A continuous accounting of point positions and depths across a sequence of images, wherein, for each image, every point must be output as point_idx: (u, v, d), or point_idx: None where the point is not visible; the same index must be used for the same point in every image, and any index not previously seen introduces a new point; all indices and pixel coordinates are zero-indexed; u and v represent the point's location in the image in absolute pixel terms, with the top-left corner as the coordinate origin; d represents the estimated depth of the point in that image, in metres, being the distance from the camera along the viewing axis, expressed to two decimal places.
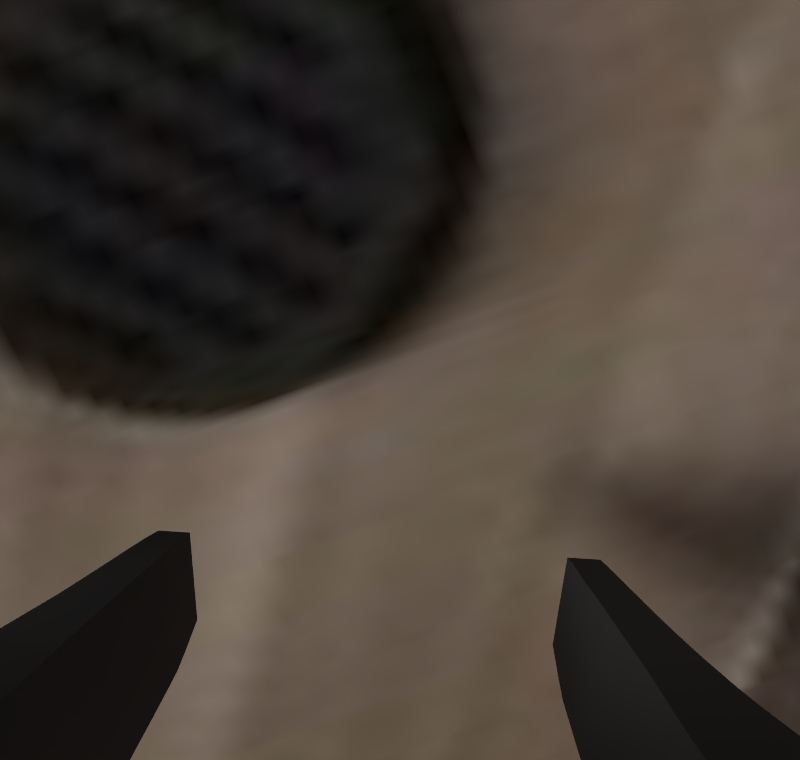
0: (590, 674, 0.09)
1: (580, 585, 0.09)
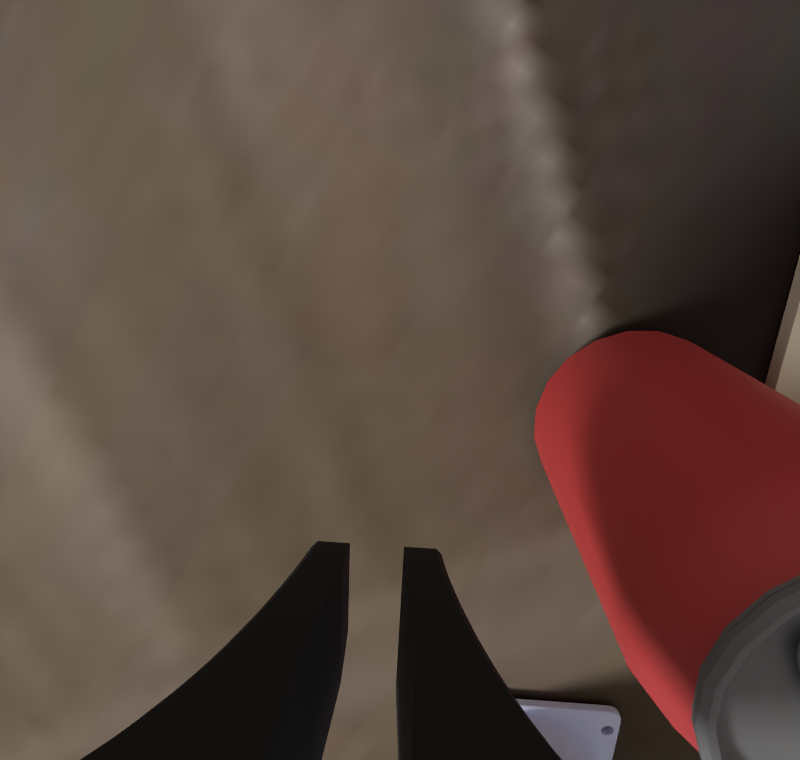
0: (401, 661, 0.09)
1: None
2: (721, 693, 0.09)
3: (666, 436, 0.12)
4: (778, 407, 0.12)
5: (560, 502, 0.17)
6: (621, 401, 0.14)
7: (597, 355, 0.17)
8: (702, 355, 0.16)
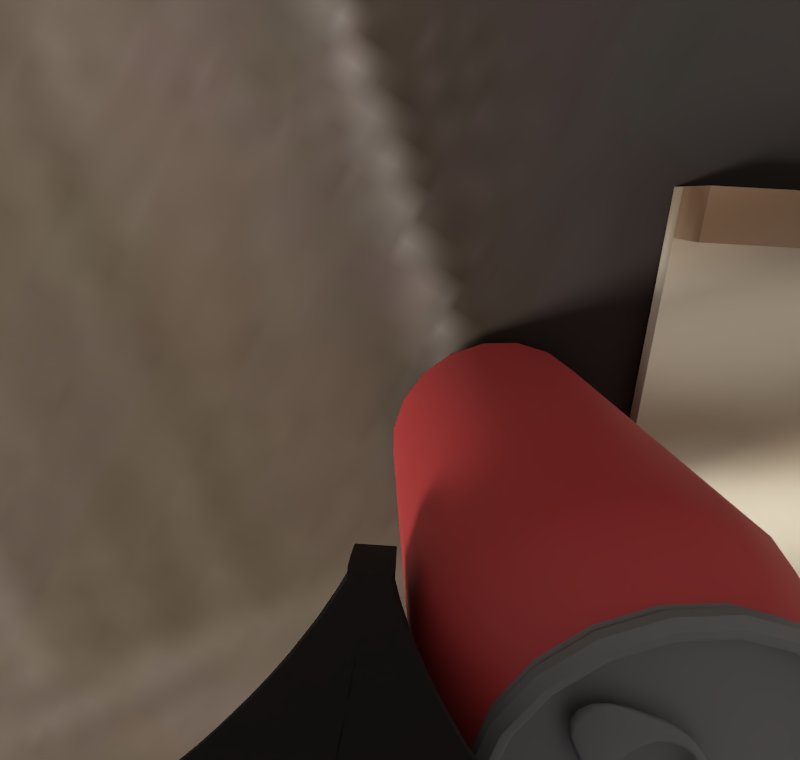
0: None
1: None
2: None
3: (477, 464, 0.11)
4: (597, 428, 0.11)
5: None
6: (452, 422, 0.13)
7: (447, 371, 0.16)
8: (549, 369, 0.15)
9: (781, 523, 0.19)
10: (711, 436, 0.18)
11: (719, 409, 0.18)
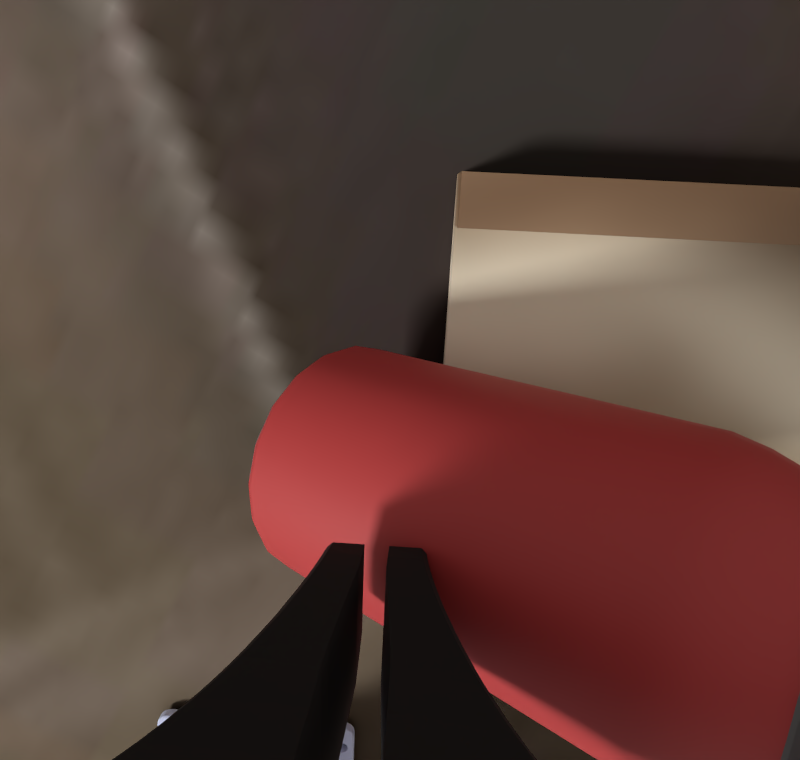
0: (384, 659, 0.09)
1: (386, 572, 0.10)
2: None
3: (547, 478, 0.10)
4: (594, 404, 0.11)
5: None
6: (431, 448, 0.11)
7: (326, 395, 0.13)
8: (436, 364, 0.14)
9: None
10: None
11: None
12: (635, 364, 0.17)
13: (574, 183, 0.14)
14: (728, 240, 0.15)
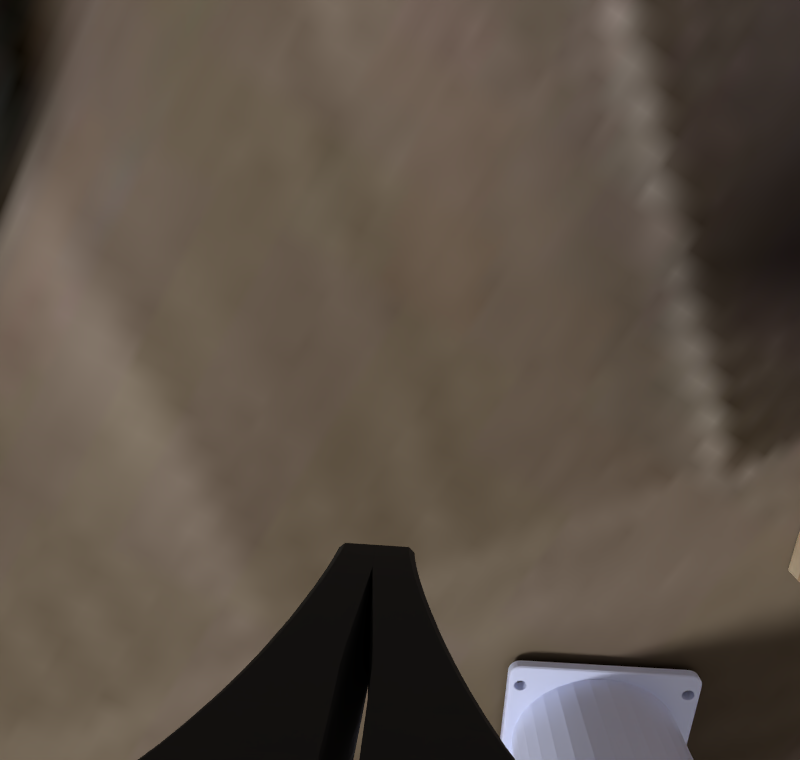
0: (369, 658, 0.09)
1: None
2: None
3: None
4: None
5: None
6: None
7: None
8: None
9: None
10: None
11: None
12: None
13: None
14: None
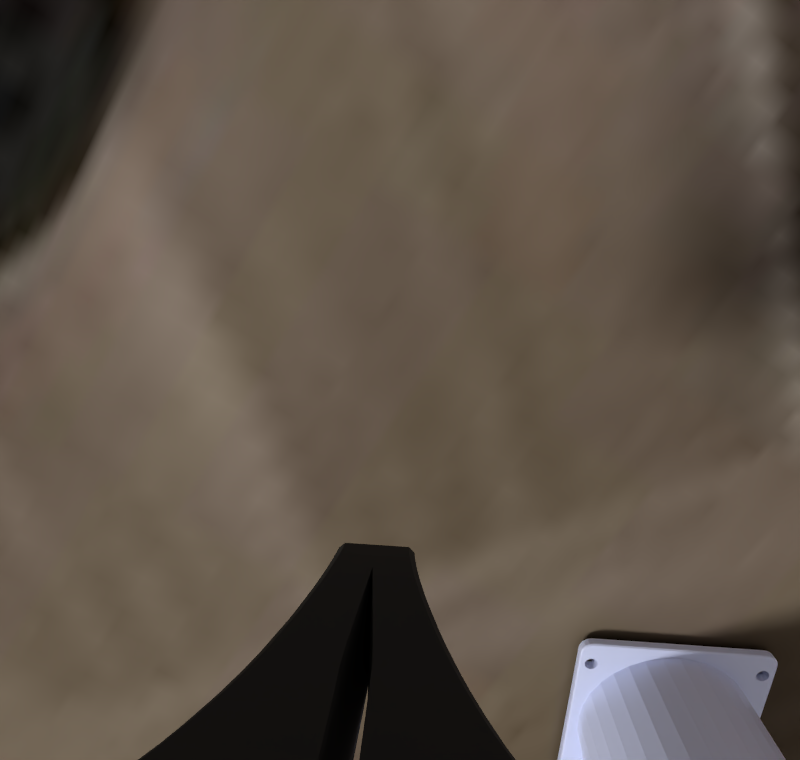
0: (370, 658, 0.09)
1: None
2: None
3: None
4: None
5: None
6: None
7: None
8: None
9: None
10: None
11: None
12: None
13: None
14: None
